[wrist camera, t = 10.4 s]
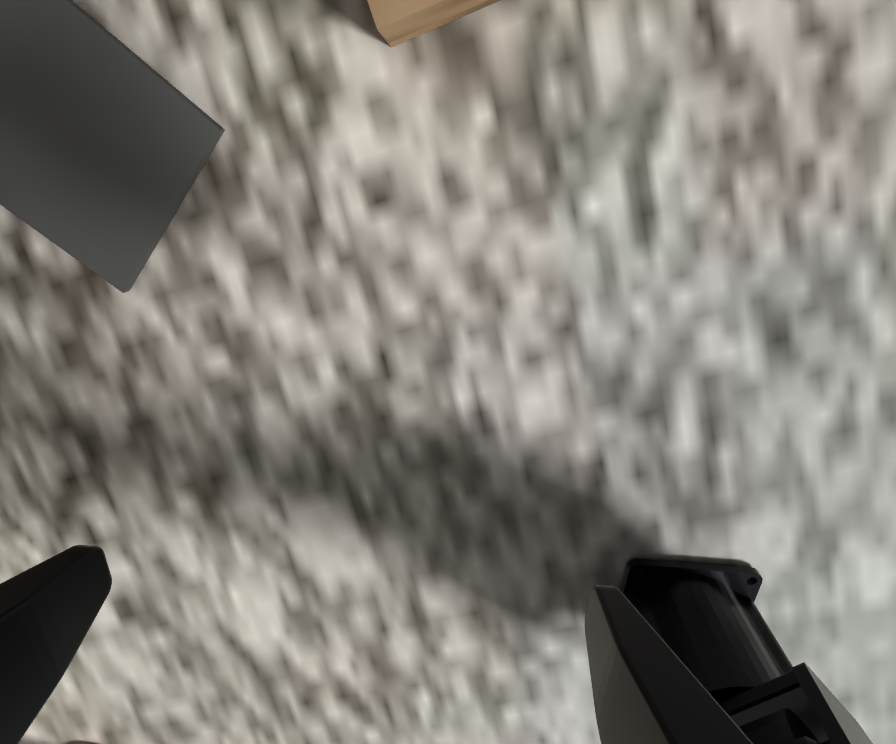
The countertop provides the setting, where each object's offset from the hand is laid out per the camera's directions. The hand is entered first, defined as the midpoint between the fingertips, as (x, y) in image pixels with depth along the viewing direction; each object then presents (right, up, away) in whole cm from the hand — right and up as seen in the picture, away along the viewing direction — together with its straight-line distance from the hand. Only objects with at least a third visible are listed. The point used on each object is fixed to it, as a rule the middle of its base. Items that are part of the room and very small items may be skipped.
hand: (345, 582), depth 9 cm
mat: (-12, +12, +10) cm, 20 cm away
